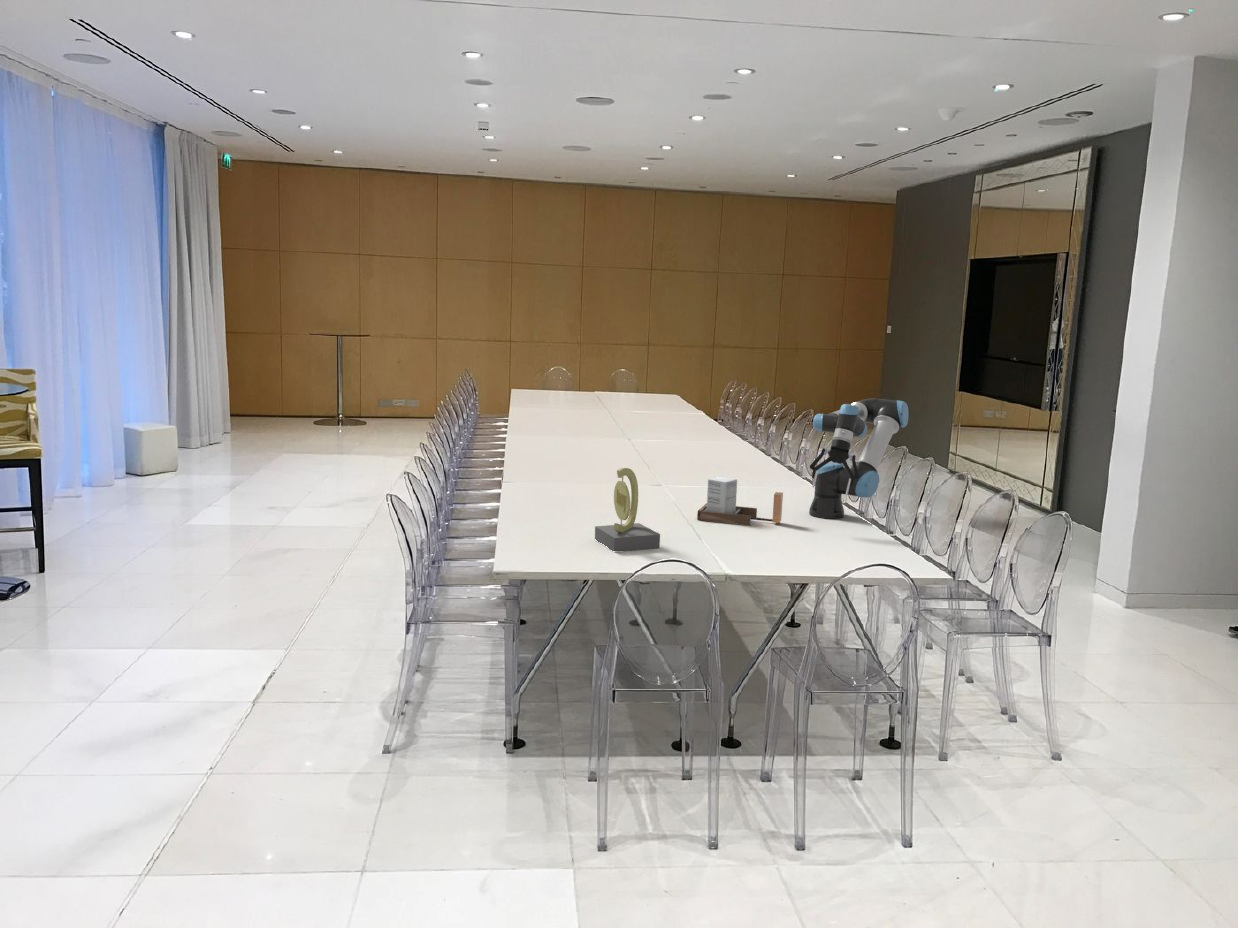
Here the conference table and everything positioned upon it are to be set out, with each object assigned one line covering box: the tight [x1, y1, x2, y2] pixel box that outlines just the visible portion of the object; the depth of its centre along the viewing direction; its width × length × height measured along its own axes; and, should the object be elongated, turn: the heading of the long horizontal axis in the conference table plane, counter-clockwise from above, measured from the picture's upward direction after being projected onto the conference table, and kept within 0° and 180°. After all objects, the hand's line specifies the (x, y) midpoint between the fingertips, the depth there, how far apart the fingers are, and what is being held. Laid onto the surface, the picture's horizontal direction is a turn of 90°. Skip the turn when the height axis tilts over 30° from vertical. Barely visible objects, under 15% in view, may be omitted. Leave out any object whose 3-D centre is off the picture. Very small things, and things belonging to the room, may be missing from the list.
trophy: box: [594, 467, 661, 552], centre depth 377 cm, size 19×19×30 cm
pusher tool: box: [704, 491, 784, 524], centre depth 424 cm, size 13×32×12 cm, turn 72°
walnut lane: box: [696, 502, 758, 526], centre depth 427 cm, size 17×22×4 cm
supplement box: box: [706, 476, 738, 514], centre depth 426 cm, size 10×9×17 cm
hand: (829, 490), depth 407 cm, fingers open, 13 cm apart
